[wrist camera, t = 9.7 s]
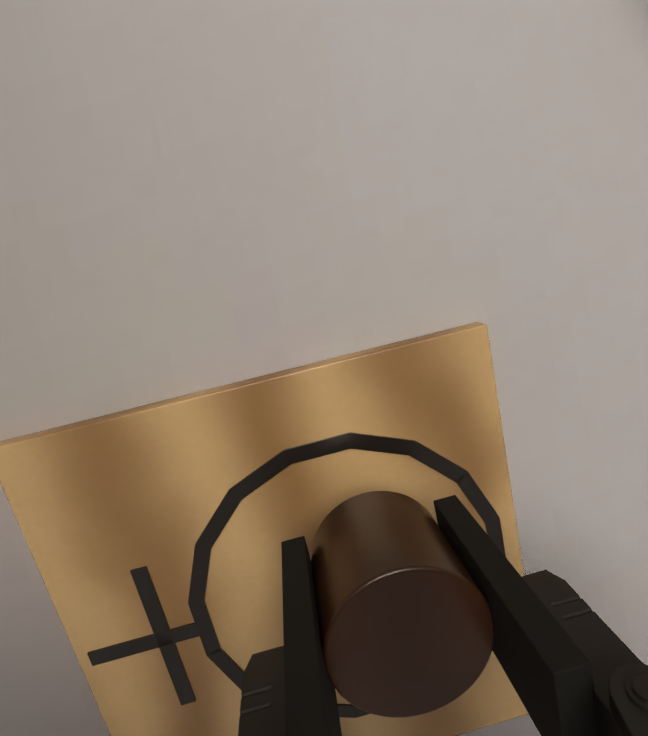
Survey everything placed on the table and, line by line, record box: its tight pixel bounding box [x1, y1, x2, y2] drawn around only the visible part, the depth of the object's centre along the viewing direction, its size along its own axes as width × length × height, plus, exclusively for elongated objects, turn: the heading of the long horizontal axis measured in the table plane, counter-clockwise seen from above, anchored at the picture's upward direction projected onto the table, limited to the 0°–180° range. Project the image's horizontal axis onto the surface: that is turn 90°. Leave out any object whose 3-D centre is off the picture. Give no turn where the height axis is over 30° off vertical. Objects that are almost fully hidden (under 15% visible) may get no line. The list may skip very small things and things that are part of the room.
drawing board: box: [0, 322, 529, 736], centre depth 18 cm, size 18×18×1 cm
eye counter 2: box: [311, 491, 495, 718], centre depth 13 cm, size 4×4×4 cm
